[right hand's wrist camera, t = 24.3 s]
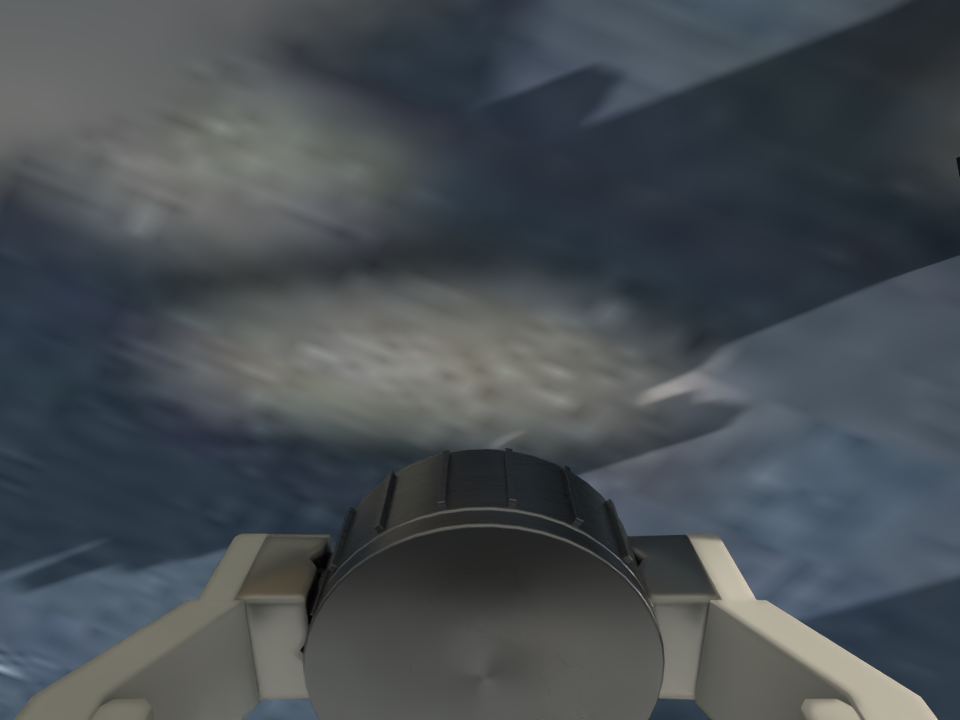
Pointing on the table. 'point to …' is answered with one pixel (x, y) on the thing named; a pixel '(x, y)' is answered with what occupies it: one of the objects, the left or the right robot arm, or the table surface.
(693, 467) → the table surface
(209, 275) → the table surface
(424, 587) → the lid
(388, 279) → the table surface
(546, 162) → the table surface
